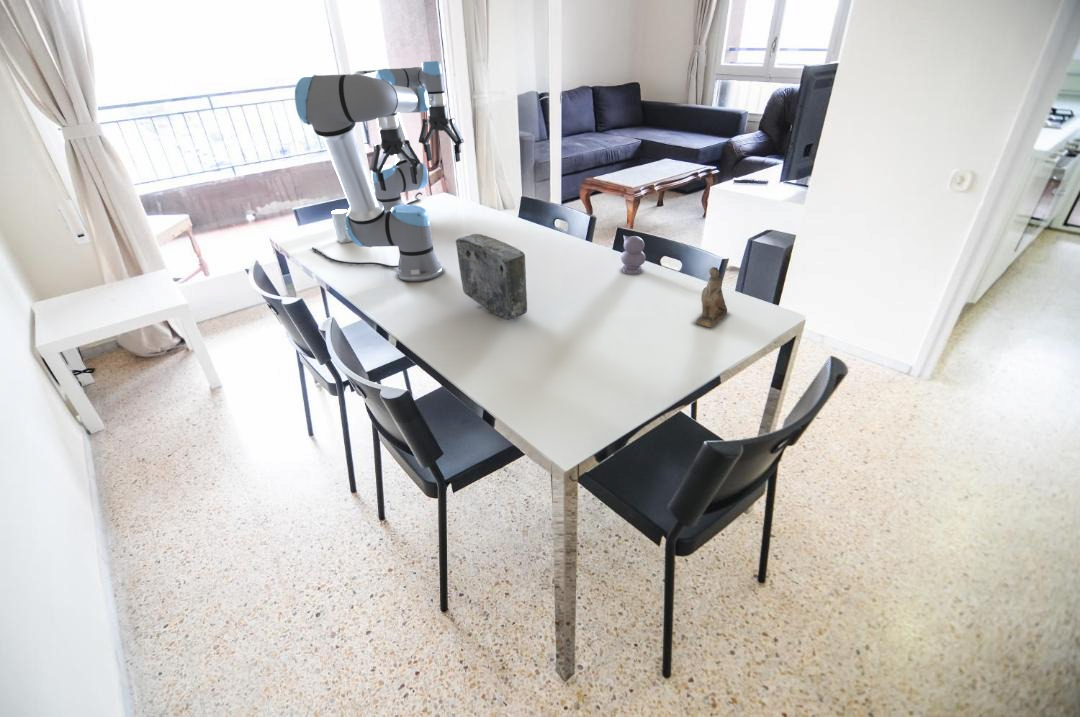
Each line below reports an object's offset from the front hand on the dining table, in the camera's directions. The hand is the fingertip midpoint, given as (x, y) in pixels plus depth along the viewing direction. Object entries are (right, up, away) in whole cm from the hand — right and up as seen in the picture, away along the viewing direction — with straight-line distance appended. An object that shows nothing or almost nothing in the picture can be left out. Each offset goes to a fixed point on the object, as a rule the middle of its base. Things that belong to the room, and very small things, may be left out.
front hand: (399, 186), depth 195 cm
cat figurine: (+87, -37, -24) cm, 98 cm away
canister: (-28, -17, +17) cm, 36 cm away
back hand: (+14, +17, +17) cm, 28 cm away
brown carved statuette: (+104, -56, -56) cm, 131 cm away
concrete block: (+42, -53, -47) cm, 83 cm away
